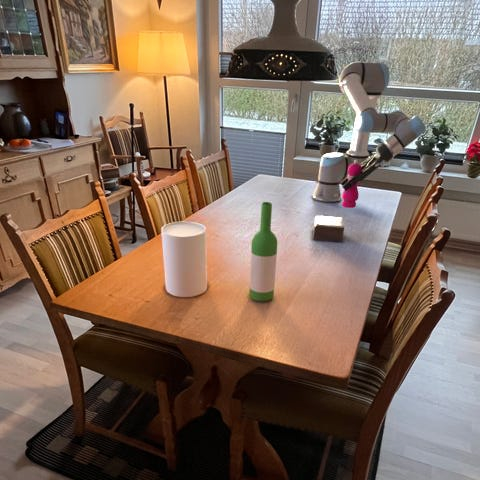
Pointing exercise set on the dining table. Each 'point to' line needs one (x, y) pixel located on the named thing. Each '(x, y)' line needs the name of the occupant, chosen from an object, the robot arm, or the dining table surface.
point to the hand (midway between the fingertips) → (343, 187)
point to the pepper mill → (351, 193)
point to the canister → (185, 258)
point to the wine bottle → (263, 258)
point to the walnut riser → (328, 229)
